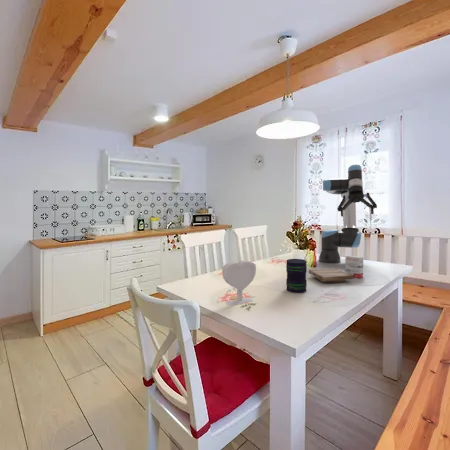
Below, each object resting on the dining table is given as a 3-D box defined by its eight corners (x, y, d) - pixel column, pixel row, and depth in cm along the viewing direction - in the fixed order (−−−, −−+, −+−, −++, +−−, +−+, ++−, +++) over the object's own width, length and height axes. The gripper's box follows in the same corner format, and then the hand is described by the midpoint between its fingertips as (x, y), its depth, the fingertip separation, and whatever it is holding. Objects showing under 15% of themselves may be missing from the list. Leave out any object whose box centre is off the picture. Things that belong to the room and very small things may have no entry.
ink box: (363, 277, 157) (363, 257, 156) (359, 278, 154) (359, 258, 153) (348, 274, 163) (349, 255, 162) (344, 275, 160) (345, 256, 159)
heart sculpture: (227, 306, 115) (226, 265, 114) (221, 302, 120) (221, 262, 118) (257, 300, 122) (257, 260, 121) (251, 296, 127) (250, 259, 125)
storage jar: (301, 286, 141) (301, 258, 140) (310, 292, 131) (310, 262, 130) (283, 287, 139) (283, 259, 138) (290, 293, 130) (290, 263, 129)
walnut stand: (308, 276, 160) (308, 269, 160) (335, 274, 163) (335, 268, 162) (323, 284, 143) (323, 277, 143) (352, 282, 146) (352, 275, 146)
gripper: (332, 187, 163) (332, 218, 154) (379, 181, 151) (382, 214, 142) (334, 194, 169) (334, 224, 160) (380, 188, 156) (383, 221, 148)
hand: (357, 220), depth 151 cm, fingers open, 13 cm apart
